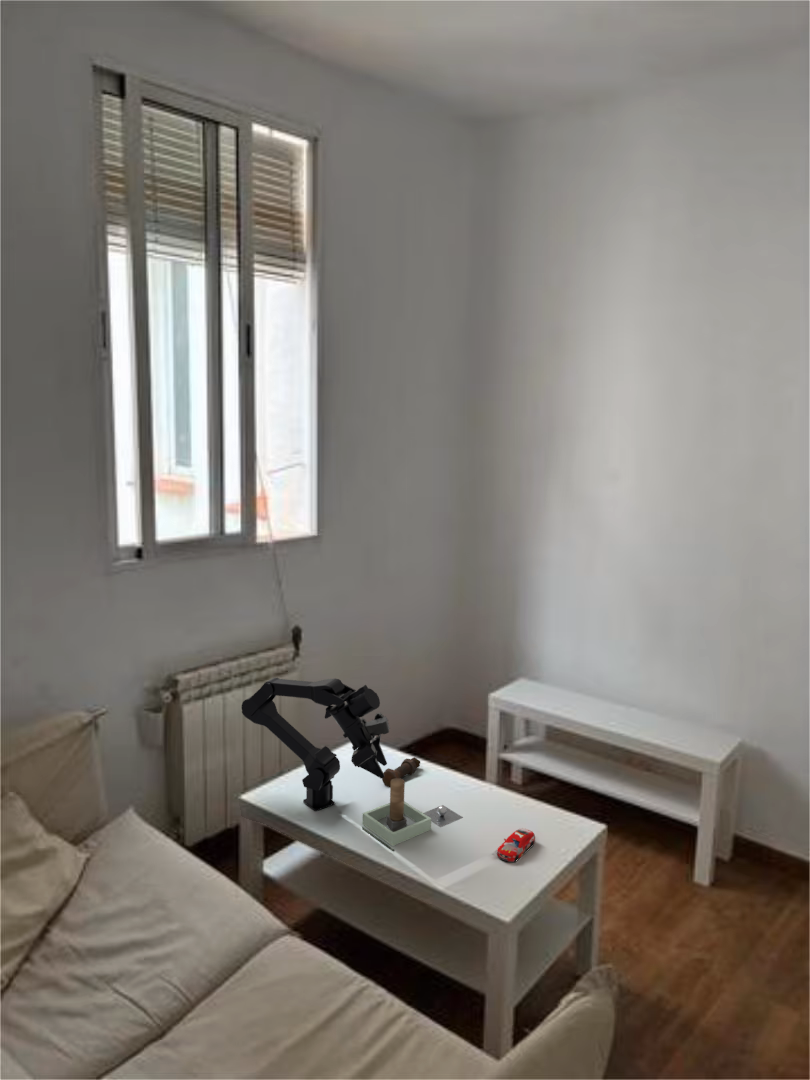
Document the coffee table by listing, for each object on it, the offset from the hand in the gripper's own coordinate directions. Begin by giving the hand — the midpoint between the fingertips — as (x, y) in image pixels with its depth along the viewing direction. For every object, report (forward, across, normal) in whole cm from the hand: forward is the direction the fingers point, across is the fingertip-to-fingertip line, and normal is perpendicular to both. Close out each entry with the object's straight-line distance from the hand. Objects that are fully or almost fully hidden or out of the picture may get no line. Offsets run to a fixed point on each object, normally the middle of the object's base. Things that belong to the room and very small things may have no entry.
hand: (384, 771), depth 211 cm
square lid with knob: (+20, 0, -5) cm, 20 cm away
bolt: (+11, +23, +3) cm, 26 cm away
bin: (+13, -6, +5) cm, 16 cm away
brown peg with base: (+12, -7, +4) cm, 15 cm away
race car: (+32, -12, -19) cm, 39 cm away
